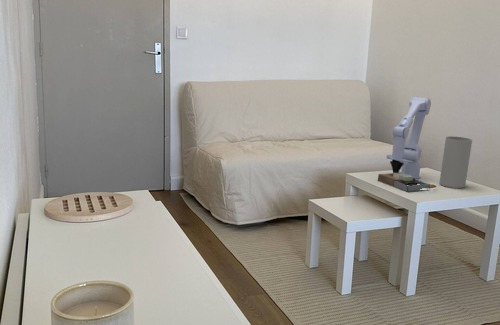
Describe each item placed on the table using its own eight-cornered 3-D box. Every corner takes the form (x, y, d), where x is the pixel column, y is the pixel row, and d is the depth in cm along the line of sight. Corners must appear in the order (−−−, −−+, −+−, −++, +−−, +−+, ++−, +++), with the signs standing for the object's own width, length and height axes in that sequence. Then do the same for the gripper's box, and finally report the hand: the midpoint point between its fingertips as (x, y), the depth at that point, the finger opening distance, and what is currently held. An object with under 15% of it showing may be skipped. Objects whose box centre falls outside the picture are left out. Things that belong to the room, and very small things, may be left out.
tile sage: (406, 178, 245) (406, 174, 244) (412, 180, 241) (413, 176, 240) (398, 178, 243) (399, 174, 242) (404, 180, 239) (405, 177, 238)
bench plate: (398, 179, 257) (399, 172, 256) (414, 184, 246) (415, 178, 245) (377, 180, 251) (378, 174, 250) (393, 186, 240) (393, 179, 240)
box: (414, 185, 246) (415, 179, 245) (429, 190, 237) (430, 184, 236) (393, 186, 240) (394, 181, 239) (407, 192, 231) (408, 186, 230)
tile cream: (400, 176, 249) (400, 172, 248) (406, 178, 245) (406, 174, 244) (392, 176, 247) (393, 172, 246) (398, 178, 243) (399, 174, 242)
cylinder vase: (467, 185, 251) (474, 138, 245) (462, 190, 240) (469, 141, 235) (442, 181, 257) (448, 135, 252) (436, 185, 247) (443, 138, 242)
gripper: (383, 146, 250) (380, 171, 253) (402, 152, 238) (398, 178, 241) (393, 146, 253) (390, 171, 256) (413, 151, 240) (409, 177, 243)
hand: (395, 174), depth 249 cm, fingers closed
